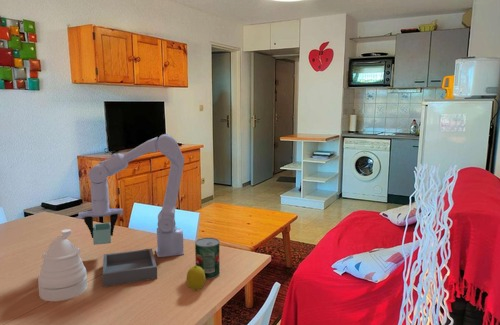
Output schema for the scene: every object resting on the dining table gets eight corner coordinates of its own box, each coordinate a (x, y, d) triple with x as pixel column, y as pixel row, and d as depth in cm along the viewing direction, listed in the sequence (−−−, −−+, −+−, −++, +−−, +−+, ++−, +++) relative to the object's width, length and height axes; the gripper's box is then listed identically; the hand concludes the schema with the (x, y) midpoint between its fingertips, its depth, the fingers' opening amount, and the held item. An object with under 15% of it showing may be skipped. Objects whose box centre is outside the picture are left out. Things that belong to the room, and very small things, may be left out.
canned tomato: (191, 272, 122) (190, 241, 120) (210, 266, 127) (210, 235, 125) (204, 281, 116) (203, 248, 114) (224, 274, 121) (224, 242, 119)
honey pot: (75, 276, 119) (71, 222, 116) (95, 288, 111) (91, 231, 108) (31, 291, 109) (26, 233, 107) (50, 306, 101) (45, 243, 98)
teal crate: (111, 235, 137) (110, 222, 136) (110, 243, 129) (110, 229, 129) (94, 237, 135) (94, 223, 134) (93, 244, 127) (92, 230, 127)
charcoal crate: (152, 259, 132) (151, 248, 132) (157, 278, 118) (156, 266, 117) (104, 265, 127) (103, 254, 126) (103, 286, 112) (102, 274, 112)
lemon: (202, 296, 107) (201, 270, 106) (184, 294, 108) (183, 268, 107) (208, 287, 112) (207, 262, 111) (190, 285, 113) (190, 260, 112)
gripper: (121, 194, 136) (123, 230, 138) (78, 197, 131) (81, 234, 133) (122, 199, 129) (124, 236, 132) (76, 202, 124) (79, 241, 127)
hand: (102, 235), depth 132 cm, fingers closed on teal crate, 6 cm apart
